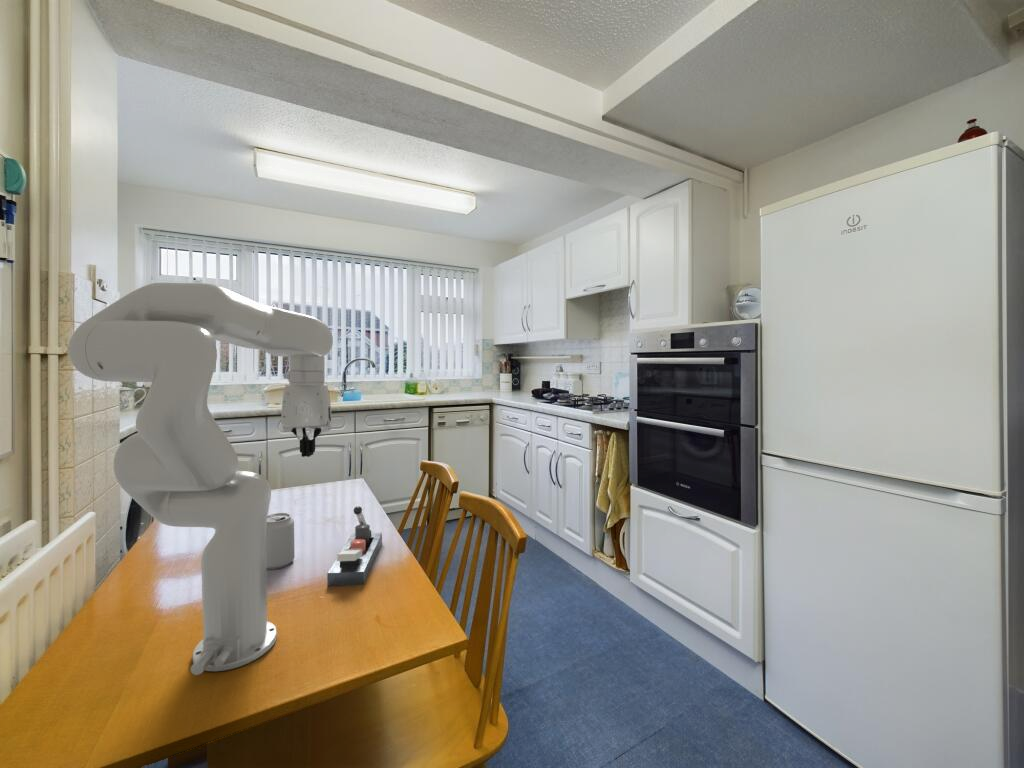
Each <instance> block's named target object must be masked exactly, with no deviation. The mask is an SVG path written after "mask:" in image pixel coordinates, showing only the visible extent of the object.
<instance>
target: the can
mask: <svg viewBox="0 0 1024 768" xmlns="http://www.w3.org/2000/svg"><path fill="white" fill-rule="evenodd" d="M294 559H295V520H294V519H293V518H292V515H291V514H290V513H288V512H275V513H271V514H268V516H267V524H266V570H276V569H278V570H279V569H282V568H284V567H286V566H288V565H290V564H291V562H292V561H294Z"/></svg>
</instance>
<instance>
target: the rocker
mask: <svg viewBox="0 0 1024 768" xmlns="http://www.w3.org/2000/svg"><path fill="white" fill-rule="evenodd" d="M362 550H363V549H345V550H344V551H342V550H341V551H342V552H341V551H340V552H341V553H340V552H339V553H337V554H336V555H337V556H336V559H337V561H356V560H357V559H358V558H359V557H361V556H362Z"/></svg>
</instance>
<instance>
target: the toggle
mask: <svg viewBox="0 0 1024 768" xmlns="http://www.w3.org/2000/svg"><path fill="white" fill-rule="evenodd" d="M362 508H363V507H361V506H359V505H358V506H355V507H354V508H353V514H354V515H355V516H356V519H357V521H358V522H359V525H361V524H367V521H366V520H365V516H364V513H363V509H362Z"/></svg>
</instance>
